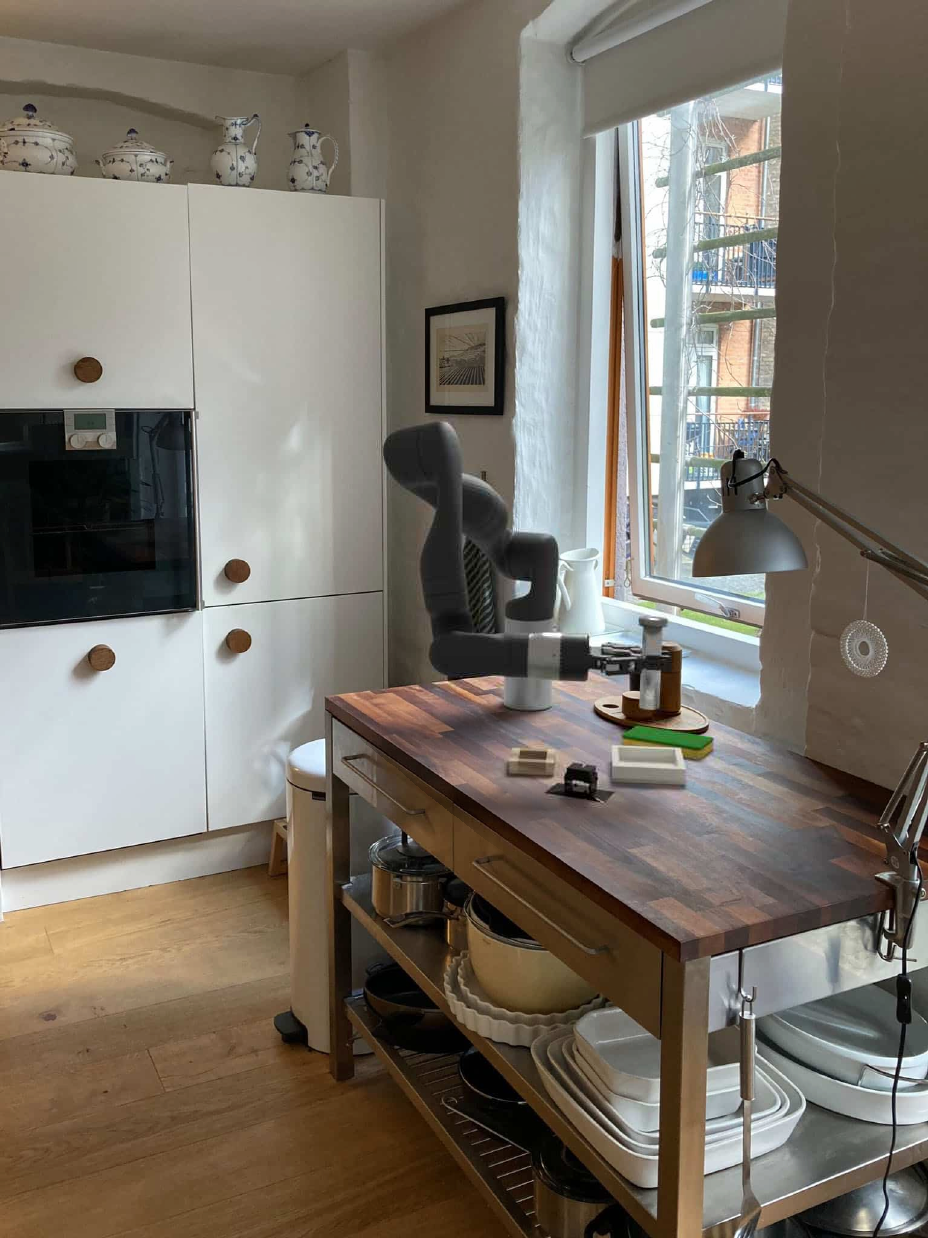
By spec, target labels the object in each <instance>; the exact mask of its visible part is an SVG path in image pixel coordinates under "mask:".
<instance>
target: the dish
mask: <svg viewBox="0 0 928 1238" xmlns="http://www.w3.org/2000/svg"><path fill="white" fill-rule="evenodd" d="M610 759H611V760H610V761H611V780H612V781H611V782H612V783H628V784H633V783H634V784H654V785H673V786H674V785H676V786H679V785H680V786H686V777H687V768H686V763H685V759H684V757H683V755H682V752H681V748H670V747H645V746H622V745H621V744H620V745H617V744H616V745H615V744H614V745H613V744H612V745H611V757H610Z"/></svg>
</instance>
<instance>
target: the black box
mask: <svg viewBox="0 0 928 1238" xmlns="http://www.w3.org/2000/svg"><path fill="white" fill-rule="evenodd" d="M598 773H599V772H597V766H596V765H592V764H586V765H584V764H583V763H580V762H579V763H578V762H572V763H570V764H569V766H567V767H566V771H565V772H564V776H563V780H564V782H556V783H555V784H554V785H552V787H550V788H549V789H547V790H546V791H545V792H544V794H545V795H546V794H547V795H553V796H559V797H566V798H572V799H578V800H585V801H590V802H595V803H603V804H604V803H606V802H607V801H608V800H609V799H610V798H611V797H612V796H613V795H614V794H615V791H614V790H613V791H612V790H605V789H600V788H598V780H599V776H598ZM574 781H576V782H582V783H583V784H578V783H575V782H574ZM573 782H574V783H573ZM584 784H588V785H584Z"/></svg>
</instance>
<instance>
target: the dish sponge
mask: <svg viewBox="0 0 928 1238" xmlns="http://www.w3.org/2000/svg"><path fill="white" fill-rule="evenodd" d="M621 737H622V738H621V746H645V747H670V748H681V752H682V755H683V758H688V757H689V759H695V760H701V759H703V758H704V757H705V756H706V755H708V752H709V753H710V752H711V751H712V750H714V737H711V736H706V735H699V734H693V733H687V732H681V731H675V730H674V731H673V730H668V729H662V728H661V729H660V728H655V727H649V726H643V725H642V726H641V725H636V726H634V727H633V728H632V729H629V730H628V731H626V732H624V733H622V734H621Z"/></svg>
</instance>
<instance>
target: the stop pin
mask: <svg viewBox="0 0 928 1238" xmlns="http://www.w3.org/2000/svg"><path fill="white" fill-rule="evenodd" d="M668 620H669V619H668V618H667V617H663V616H657V615H656V616H653V615H645V616H640V617H638V626H640V627H642V639H641V640H642V641H641V648H642V654H644V655H661V654H662V651H663V649H662V648H663V631H664V628H667V627H668V624H669V621H668ZM661 672H662V671H661V670H646V671H644V672H642V674H640V682H639V683H640V686H639V706H638V708H640V709H642V710H649V711H652V710H653V711H654V710H659V708H660V696H661V695H660V692H661V691H660V690H661Z"/></svg>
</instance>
